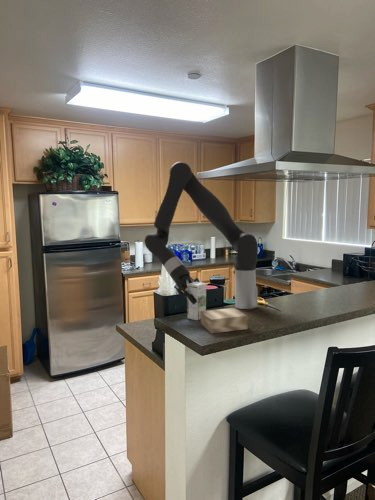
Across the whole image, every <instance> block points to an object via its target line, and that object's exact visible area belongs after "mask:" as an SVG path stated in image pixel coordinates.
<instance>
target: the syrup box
mask: <svg viewBox="0 0 375 500" xmlns="http://www.w3.org/2000/svg"><path fill="white" fill-rule="evenodd" d="M187 286H188V287H189V290H190V291H191V294H192V295H193V296H194V297H195V299H196V300H197V302H196V303H195V304H192V303H191V301H190V300H189V299H188V298H187V297H186V318H187V319H189V320H192V321H201V311H207V283H205V282H201V281H200V282H193V283H190V284H187ZM187 292H188V291H187Z"/></svg>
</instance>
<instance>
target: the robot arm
mask: <svg viewBox="0 0 375 500" xmlns="http://www.w3.org/2000/svg"><path fill="white" fill-rule="evenodd" d="M184 191H185V193H186V194H187V195H188V196H189V197H190V199H191V200H192V202H193V203H194V204H195V207H196V208H197V209H198V210H199V211H200V213H202V214H203V216H204V217H205V218H206V219H207V220H208V221H209V223H211V224H212V225H213V227H214V228H216V229H217V230H218V231H219V232H220V233H221V234H222V235H223V236H224V237H225V239H226V240H227V241H228V243H229V244H230V245H231V247H232V248H233V249H234V251H235V252H236V253H237V254H236V262H235V263H234V303H235V306H234V308H235V309H238V310H239V309H240V310H253V309H255V308H258V304H259V303H258V302H259V301H258V300H259V299H258V297H259V296H258V285H257V284H256V282H257V281H256V279H257V278H256V275H257V274H256V268H257V263H258V240H257V239H256V237H255V236H254V235H253V234H249V233H246V232H244V231H243V230H242V229H241V228H240V227H239V226H238V225H237V224H236V223H235V222H234V220H233V218H232V216H231V215H230V212H229V211H228V209H227V208H226V206H225V205H224V204H223V203H222V202H221V201H220V199H218V197H217V196H216V195H214V193H212V191H210V190H209V189H208V188H206V187H205V186H204V185H203V183H201V182H200V181H199V179H198V178H197V177H196V175H195V174H194V172H193V170H192V168H191V167H190V165H189V164H188V163H186V162H183V161H177V162H175V163H173V165H172V166H170V169H169V179H168V185H167V188H166V191H165V195H164V197H163V199H162V202H161V204H160V206H159V209H158V210H157V213H156V217H155V219H154V223H153V226H154V227H155V228H156V233H149V234H147V235H145V238H144V245H145V247H146V249H147V250H148V251H149V252H150V253H151V254H152V255H153V256H154V257H156V259H158V260H159V262H160V263H161V264H162V266H163V268H164V269H165V271H166V272H167V274H168V276H170V278H171V279H172V281H173V282H174V283H175V285H174V286H173V288H174V289H175V290H176V292H178V293H179V294H180V296H181V297H182V298H186V299H187V298H188V299H189V300H190V301H191V303H192V304H195V303H196V302H197V300H196V299H195V297H194V296H193V295H192V294H191V291H190V290H189V287H188V286H187V284H190V283H193V282H201V281H200V280H199V278H198V277H196V278H193V277H191V276H190V275H191V272H190V271H189V269H188V268H187V267H186V265H185V264H184V263H183V261H182V260H181V259H180V258H179V257H178V256H177V254H176V253H175V252H174V250H172V248H169V247H167V244H168V243H169V242H168V241H169V234H170V227H171V225H172V222H173V219H174V216H175V214H176V211H177V207H178V203H179V201H180V198H181V196H182V193H183V192H184ZM187 291H188V292H187Z"/></svg>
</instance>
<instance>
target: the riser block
mask: <svg viewBox="0 0 375 500" xmlns="http://www.w3.org/2000/svg"><path fill="white" fill-rule="evenodd" d="M200 325H201V326H203V327H204V328H205V329H206V330H207V331H208V332H209V333H210V334H217V333H224V332H226V333H227V332H233V331H240V330H241V331H242V330H248V315H247V314H245V313H244V312H242V311H240V310H239V309H238V308H236V307H230V308H229V307H228V308H220V309H218V308H217V309H211V310H210V309H209V310H208V309H207V310H206V311H201V320H200Z"/></svg>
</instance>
